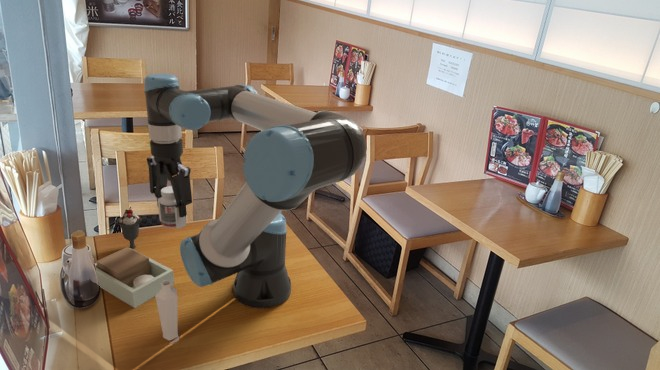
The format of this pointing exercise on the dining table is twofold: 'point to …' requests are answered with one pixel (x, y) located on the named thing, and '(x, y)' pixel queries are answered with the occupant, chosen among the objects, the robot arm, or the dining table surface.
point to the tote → (140, 293)
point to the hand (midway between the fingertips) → (173, 222)
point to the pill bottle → (168, 207)
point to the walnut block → (125, 265)
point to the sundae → (130, 226)
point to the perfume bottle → (168, 311)
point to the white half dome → (141, 280)
